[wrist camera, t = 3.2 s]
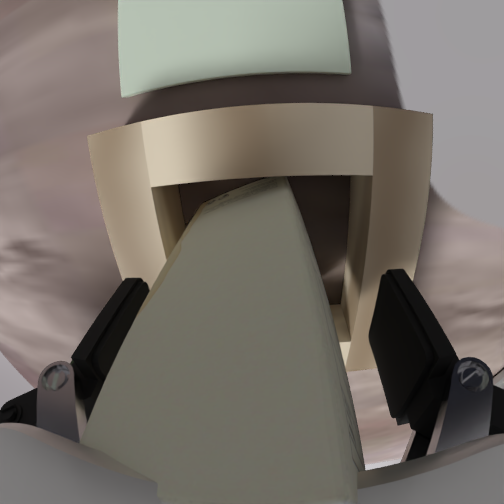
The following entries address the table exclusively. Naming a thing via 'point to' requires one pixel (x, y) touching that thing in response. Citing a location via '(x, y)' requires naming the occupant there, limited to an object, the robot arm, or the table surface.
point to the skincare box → (235, 366)
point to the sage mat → (227, 40)
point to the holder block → (268, 165)
